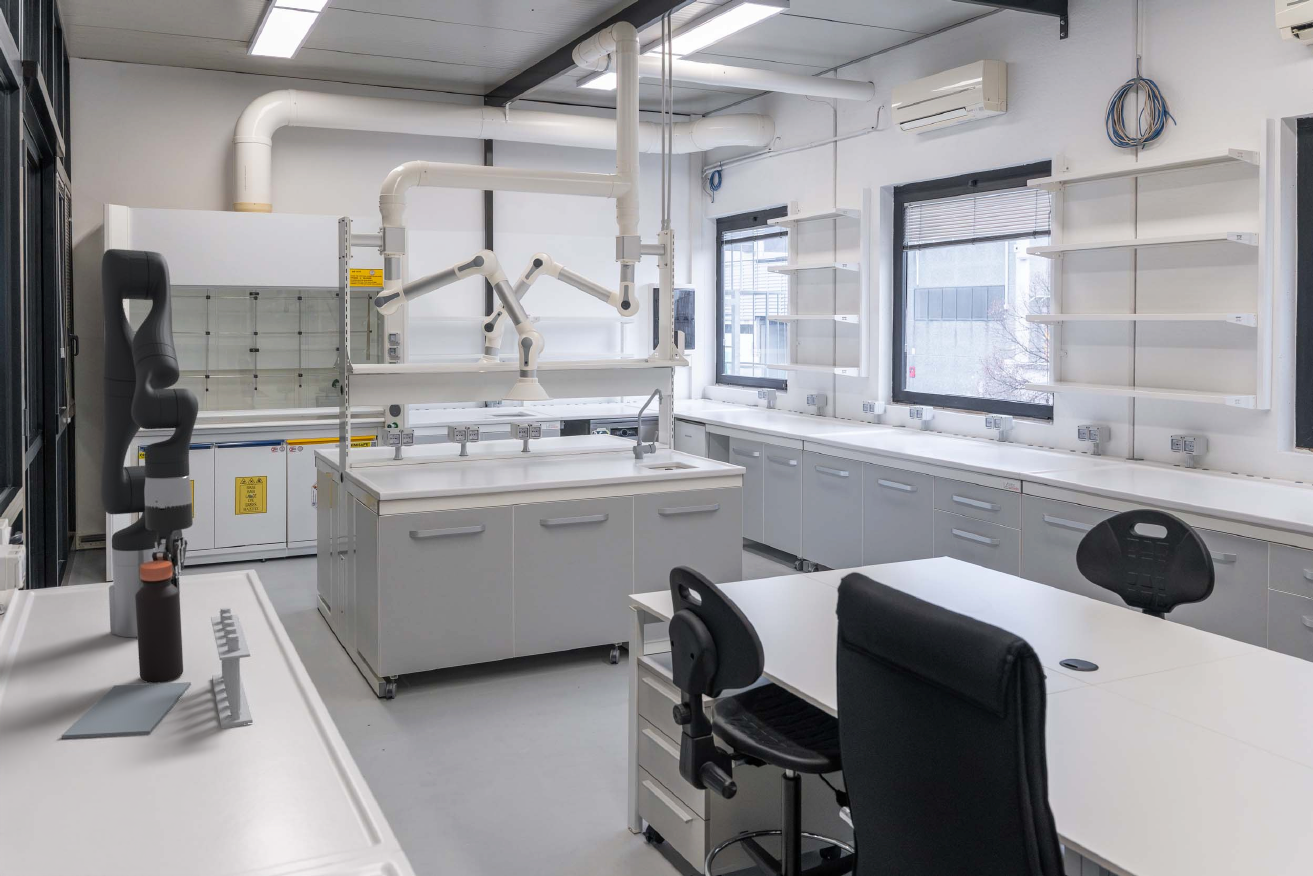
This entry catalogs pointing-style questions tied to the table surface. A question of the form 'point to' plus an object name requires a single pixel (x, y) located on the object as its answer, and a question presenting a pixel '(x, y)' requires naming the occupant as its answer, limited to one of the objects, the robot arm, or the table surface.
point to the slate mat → (128, 710)
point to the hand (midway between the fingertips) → (171, 598)
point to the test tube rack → (230, 670)
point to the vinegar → (158, 624)
